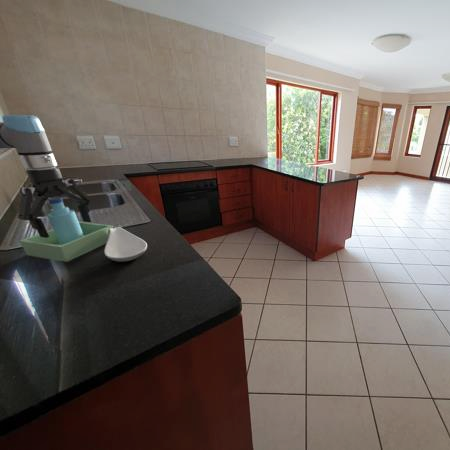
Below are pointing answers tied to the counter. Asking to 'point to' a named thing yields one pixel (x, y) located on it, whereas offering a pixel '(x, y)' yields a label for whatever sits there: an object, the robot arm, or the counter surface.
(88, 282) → the counter surface
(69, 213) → the bottle
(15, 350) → the counter surface
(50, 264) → the counter surface
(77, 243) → the bin
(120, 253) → the spoon rest
